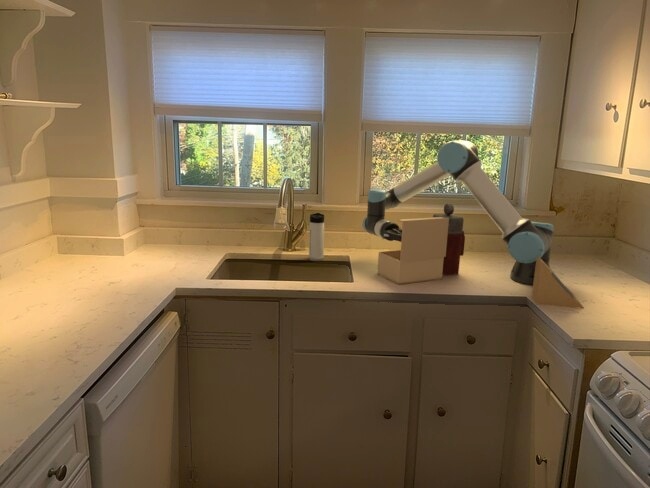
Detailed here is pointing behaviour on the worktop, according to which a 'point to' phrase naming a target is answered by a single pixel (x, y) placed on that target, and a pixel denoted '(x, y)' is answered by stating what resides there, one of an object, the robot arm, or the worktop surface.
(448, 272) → the red grinder
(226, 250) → the worktop surface
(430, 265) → the mailer box
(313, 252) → the travel mug
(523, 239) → the robot arm
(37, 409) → the worktop surface
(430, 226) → the mailer lid
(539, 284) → the sandwich container
